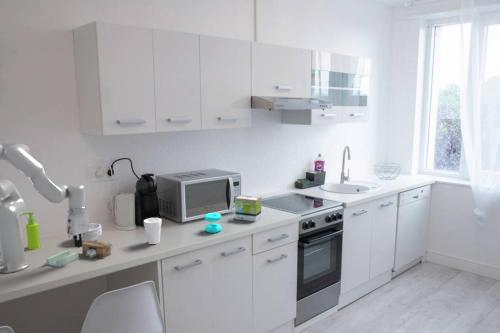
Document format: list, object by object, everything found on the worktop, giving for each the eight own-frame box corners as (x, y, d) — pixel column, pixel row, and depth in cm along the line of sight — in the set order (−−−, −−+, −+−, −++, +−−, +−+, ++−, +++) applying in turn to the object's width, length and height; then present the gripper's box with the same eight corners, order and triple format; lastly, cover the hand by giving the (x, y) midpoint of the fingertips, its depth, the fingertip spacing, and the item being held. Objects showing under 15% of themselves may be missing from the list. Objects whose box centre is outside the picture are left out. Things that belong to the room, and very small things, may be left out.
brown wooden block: (103, 258, 198) (102, 246, 197) (82, 254, 204) (81, 243, 203) (110, 254, 203) (110, 243, 202) (90, 251, 208) (89, 240, 207)
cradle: (59, 267, 188) (59, 261, 187) (46, 264, 192) (45, 258, 191) (79, 258, 199) (79, 252, 198) (66, 255, 202) (65, 250, 202)
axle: (92, 259, 198) (91, 251, 198) (86, 257, 200) (86, 250, 199) (112, 249, 211) (112, 242, 210) (106, 248, 213) (106, 241, 212)
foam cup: (146, 246, 213) (144, 223, 211) (144, 241, 222) (142, 219, 220) (163, 244, 217) (162, 221, 215) (161, 239, 225) (160, 217, 223)
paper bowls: (74, 238, 230) (73, 224, 228) (102, 234, 235) (101, 221, 234) (73, 246, 216) (71, 232, 214) (102, 242, 221) (101, 229, 220)
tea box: (235, 219, 260) (234, 197, 258) (241, 215, 270) (240, 194, 267) (256, 222, 255) (255, 199, 252) (261, 217, 264) (261, 196, 261)
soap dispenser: (26, 247, 216) (23, 211, 213) (41, 245, 219) (37, 210, 215) (25, 250, 211) (21, 214, 207) (40, 248, 213) (36, 212, 210)
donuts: (211, 211, 244) (224, 213, 239) (211, 227, 245) (225, 229, 240) (201, 215, 235) (214, 218, 230) (201, 231, 237) (215, 234, 232)
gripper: (70, 215, 182) (71, 253, 185) (94, 207, 196) (95, 243, 199) (58, 212, 185) (60, 250, 188) (83, 205, 199) (84, 240, 202)
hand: (78, 246), depth 193 cm, fingers closed
